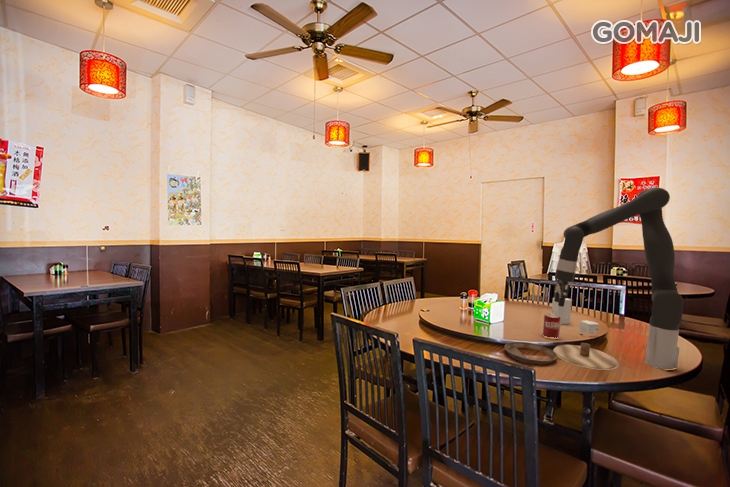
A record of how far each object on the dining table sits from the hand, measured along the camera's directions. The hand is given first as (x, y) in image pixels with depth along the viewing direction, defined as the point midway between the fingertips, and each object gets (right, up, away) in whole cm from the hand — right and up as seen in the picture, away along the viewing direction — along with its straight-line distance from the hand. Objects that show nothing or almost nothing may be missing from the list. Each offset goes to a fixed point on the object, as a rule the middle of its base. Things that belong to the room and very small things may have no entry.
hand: (558, 303), depth 154 cm
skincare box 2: (+28, -21, +21) cm, 40 cm away
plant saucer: (-17, -22, -7) cm, 29 cm away
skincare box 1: (+24, -19, +40) cm, 51 cm away
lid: (+7, -22, -7) cm, 24 cm away
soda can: (+5, -21, +16) cm, 26 cm away
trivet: (+7, -23, -7) cm, 25 cm away
